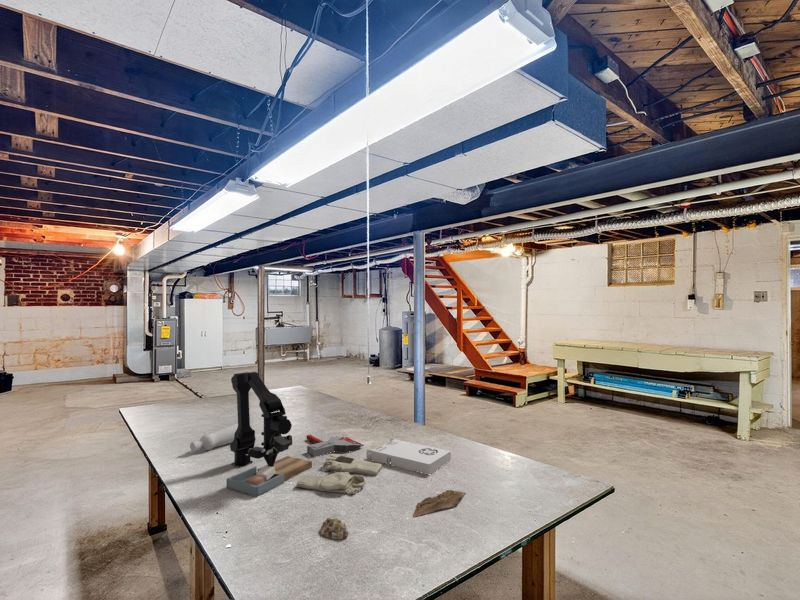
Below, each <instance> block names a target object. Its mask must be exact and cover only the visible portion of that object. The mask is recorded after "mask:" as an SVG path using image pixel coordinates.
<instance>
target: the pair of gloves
mask: <svg viewBox="0 0 800 600" xmlns="http://www.w3.org/2000/svg"><path fill="white" fill-rule="evenodd" d="M382 469H383V463H379V462H371V461H366V460H364V459H359V458H356V457H350V456H345V455H338V454H335V453H330V456H326V457H325V461H323V462H322V467H321V472H325V473H326V472H328V471H332V472H333V473H331V474H330V473H329V474H326V475H316V474H306V475H304V476H303V477H301V478H299V480H297V482H296V487H297V488H301V489H302V488H303V489H307V490H315V491H321V492H325V493H338V494H339V493H341V494H346V495H353V494H356V493H359V492H360V491H362V488H363V487H364V486H366V480H365V476H364V475H366V474H367V476H372V475H375V476H374V477H377V476H378V475H379V474H378V473H380V472H381V471H380V470H382ZM352 474H353V475H352ZM356 474H360V475H356ZM361 474H363V475H361ZM377 474H378V475H377ZM376 475H377V476H376Z"/></svg>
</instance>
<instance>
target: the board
mask: <svg viewBox="0 0 800 600" xmlns="http://www.w3.org/2000/svg"><path fill="white" fill-rule="evenodd" d="M265 466H268V464H266V465H265ZM263 467H264V466H262V467H259V468H257V472H258V471H259V470H260V469H261V468H263ZM273 467H275V471H276V473H275V474H274V475H273V476H272V477H271V478H274V477H276V476H278V475H281V474H284V482H286V481H288V480H290V479H292V478H293V477H296V476H298V475H299V474H301V473H303V472H306V471H307V470H309V469H311V468H313V462H312V460H308V459H307V460H306V459H304V458H299V457H295V456H290V455H286V456H283V457H282V458H280V459H278V460H277V459H276V460H275V463H274V466H273Z"/></svg>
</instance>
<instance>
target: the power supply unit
mask: <svg viewBox="0 0 800 600" xmlns="http://www.w3.org/2000/svg"><path fill="white" fill-rule="evenodd" d="M389 440H390V441H388V442H386V443H384V444H381V445H380V446H377V447H375V448H373V449H366V460H369V459H371V460H370V461H372V460H374V461H373V462H376V461H378V462H377V463H380V462H382V463H381V464H384V463H385V465H388V464H389V465H388V466H391V465H393V467H395V466H397V467H396V468H399V467H400V468H399V469H403V468H404V470H407V469H409V470H408V471H411V470H414V471H413V472H415V471H418V472H417V473H419V472H422V473H421V474H423V473H426V474H431V473H433V472H434V471H435V472H437V471H438V470H439V469H438V468H440V467H441V466H443V465H444V464H446V463H447V462H449V461H450V460H452V459H451V458H452V456H451V455H452V454H451V453H452V452H451V450H447V449H443V448H437V447H434V446H433V447H432V446H428V445H424V444H419V443H415V442H414V443H413V442H409V441H403V440H399V439H395V438H390V439H389ZM390 462H391V465H390ZM450 462H451V461H450ZM450 462H449V463H450ZM447 464H448V463H447ZM447 464H446V465H447ZM444 466H445V465H444ZM444 466H443V467H444ZM441 468H442V467H441ZM441 468H440V469H441ZM437 469H438V470H437ZM436 470H437V471H436ZM435 472H434V473H435ZM434 473H433V474H434ZM426 474H425V475H426ZM431 475H432V474H431Z"/></svg>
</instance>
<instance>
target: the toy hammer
mask: <svg viewBox="0 0 800 600" xmlns="http://www.w3.org/2000/svg"><path fill="white" fill-rule="evenodd" d="M306 440H307V441H310V442H312V443H313V444H308V445H306V454H308V453H309V454H308V455H310V454H311V455H310V456H311V457H313V456H314V458H316V456H317V457H320V455H321V456H324V455H323V454H325V455H328V454H327V453H329V454H331V453H330V452H333V453H347V452H348V453H350V452H349V451H352V452H354V451H356V450H358V449H360V448H361V447H364V444H363V443H360V442H358V441H356V440H354V439H351V438H350V437H347V436H330V437H329V439H328V440H326V441H324V440H322V439H319V438H318V437H316V436H314V435H312V434H307V435H306ZM353 450H354V451H353ZM334 451H335V452H334Z"/></svg>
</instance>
